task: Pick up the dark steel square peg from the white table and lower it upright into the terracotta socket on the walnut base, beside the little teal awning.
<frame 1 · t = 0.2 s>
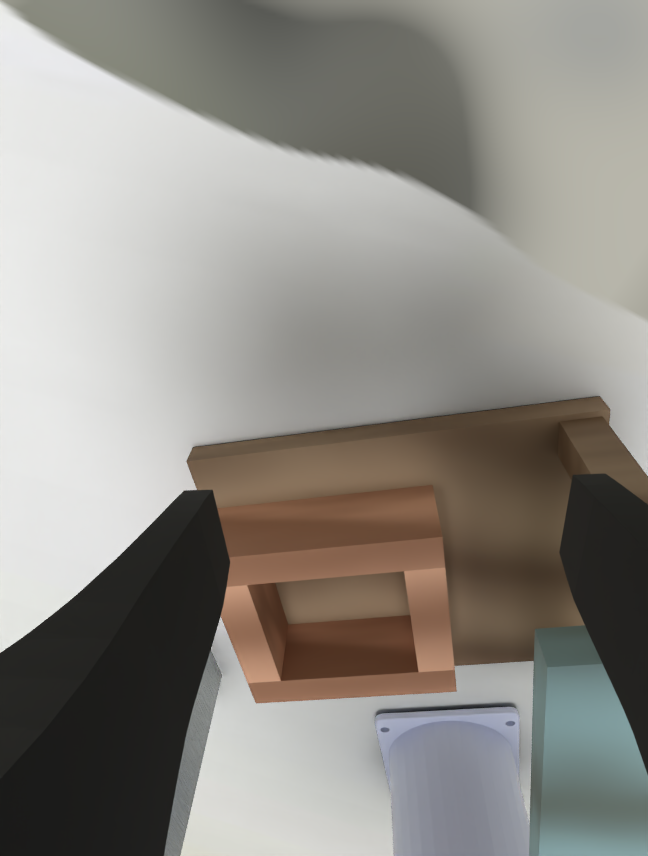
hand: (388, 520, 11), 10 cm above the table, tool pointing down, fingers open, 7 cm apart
socket station: (339, 559, 26), on the table
steel peg: (176, 655, 30), on the table
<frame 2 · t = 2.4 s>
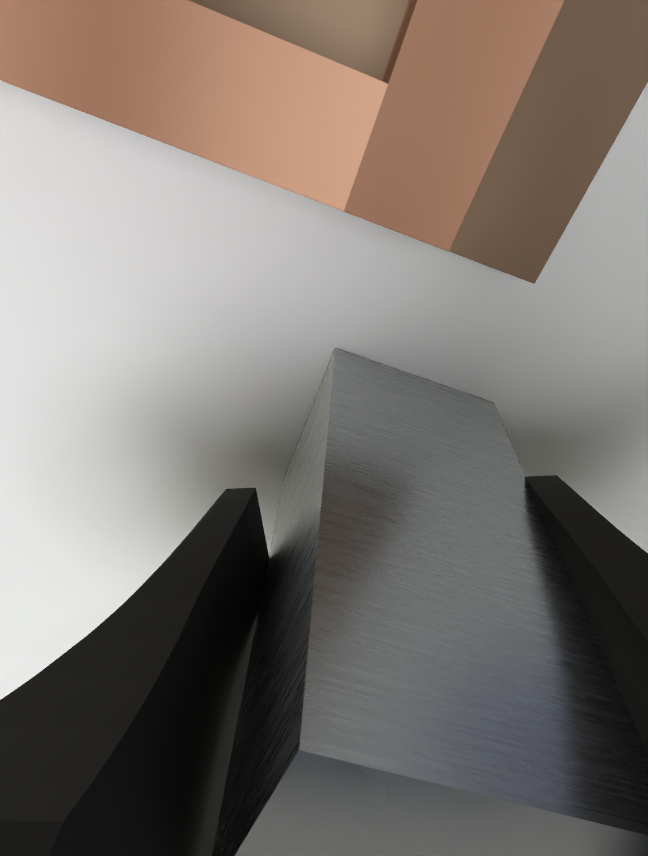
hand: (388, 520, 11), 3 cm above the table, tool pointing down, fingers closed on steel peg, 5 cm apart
steel peg: (383, 443, 14), on the table, touching gripper
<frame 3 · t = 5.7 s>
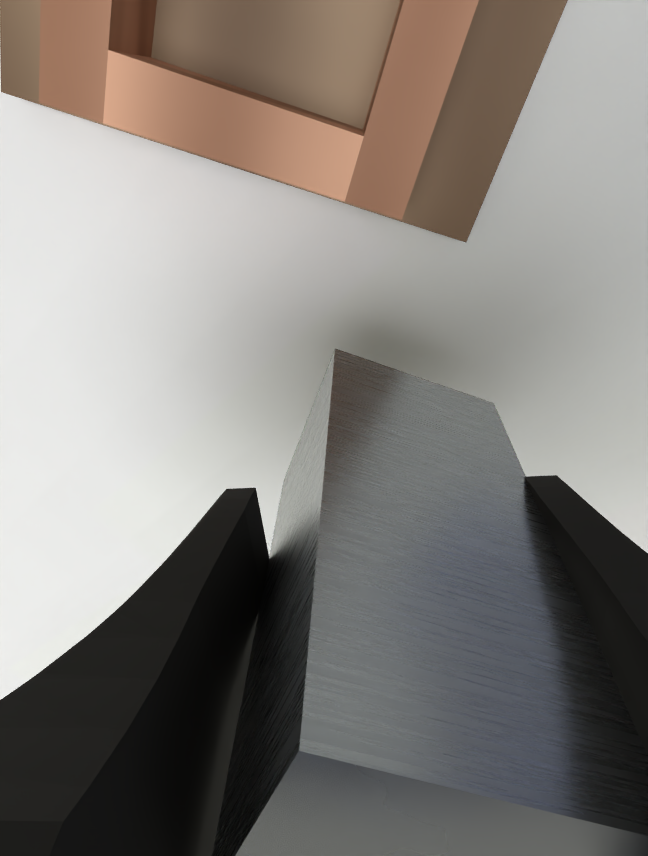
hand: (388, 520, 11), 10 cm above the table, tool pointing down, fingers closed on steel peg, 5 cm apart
steel peg: (383, 443, 14), point 7 cm above the table, touching gripper
when the fingers open (5 cm above the table, at t = 9.0 s): steel peg stays where it is, resting on socket station.
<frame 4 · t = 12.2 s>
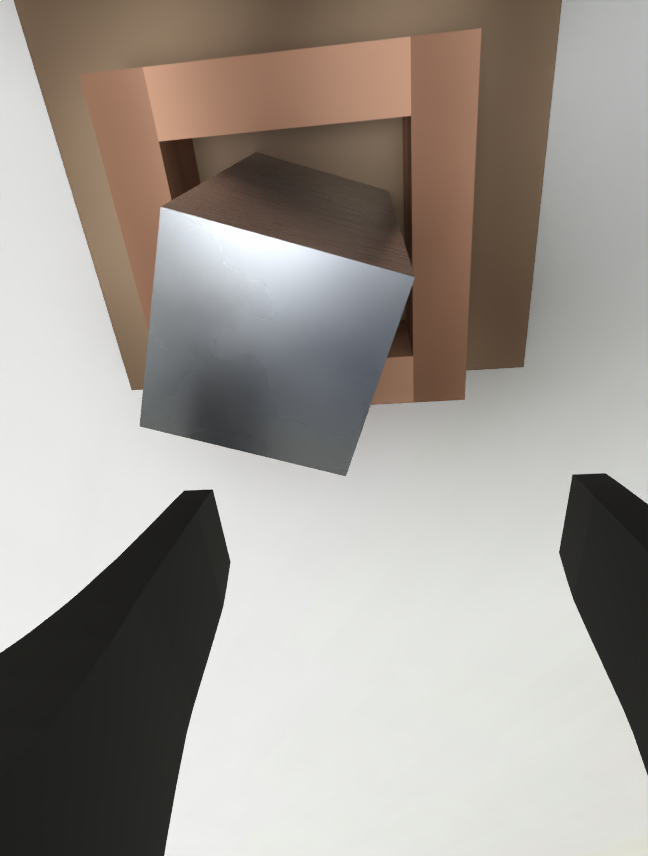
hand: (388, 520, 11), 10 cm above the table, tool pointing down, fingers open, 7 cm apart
socket station: (308, 226, 18), on the table
steel peg: (306, 239, 17), point 1 cm above the table, touching socket station
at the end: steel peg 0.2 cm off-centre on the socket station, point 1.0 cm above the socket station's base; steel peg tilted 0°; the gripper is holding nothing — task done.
